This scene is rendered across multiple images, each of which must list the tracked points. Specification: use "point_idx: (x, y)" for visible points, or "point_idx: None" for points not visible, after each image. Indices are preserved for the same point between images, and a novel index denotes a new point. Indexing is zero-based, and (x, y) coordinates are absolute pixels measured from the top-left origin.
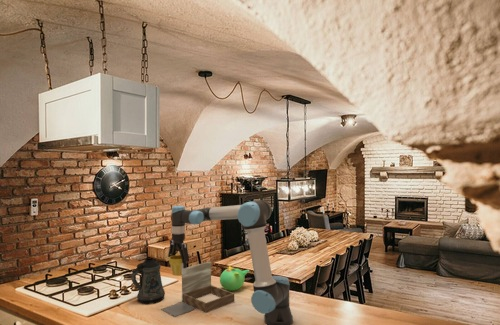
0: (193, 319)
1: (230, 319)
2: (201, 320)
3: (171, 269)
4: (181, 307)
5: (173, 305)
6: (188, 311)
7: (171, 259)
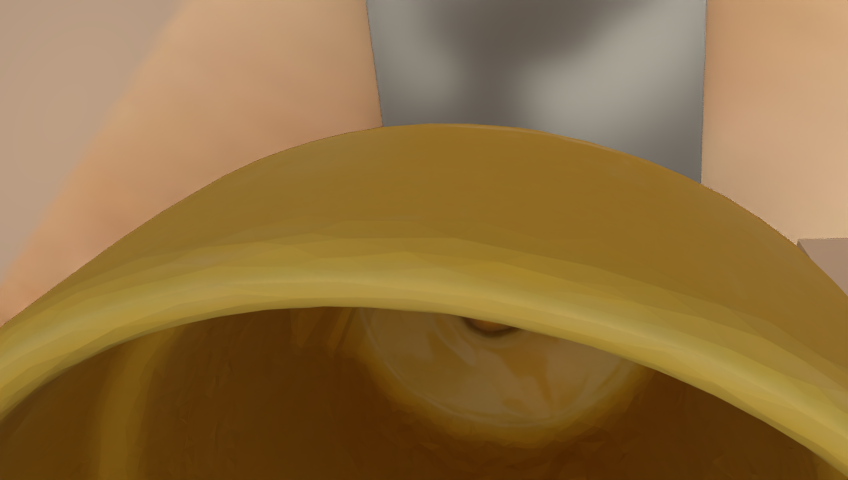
0: (177, 59)
1: (5, 315)
2: (112, 111)
3: (807, 253)
4: (535, 119)
5: (675, 74)
6: (384, 125)
7: (213, 252)
